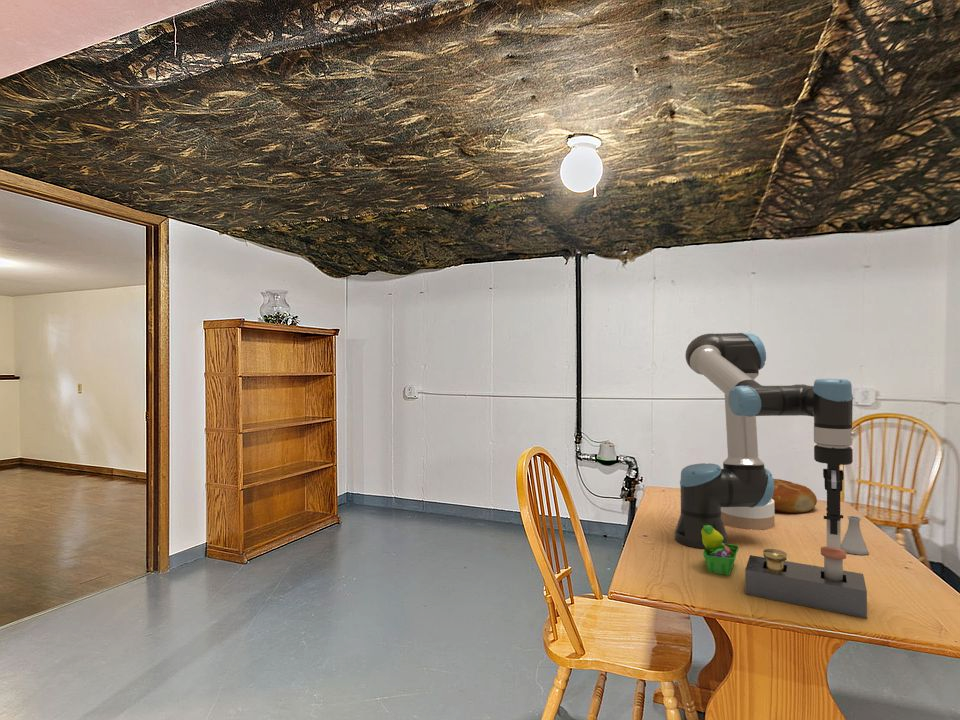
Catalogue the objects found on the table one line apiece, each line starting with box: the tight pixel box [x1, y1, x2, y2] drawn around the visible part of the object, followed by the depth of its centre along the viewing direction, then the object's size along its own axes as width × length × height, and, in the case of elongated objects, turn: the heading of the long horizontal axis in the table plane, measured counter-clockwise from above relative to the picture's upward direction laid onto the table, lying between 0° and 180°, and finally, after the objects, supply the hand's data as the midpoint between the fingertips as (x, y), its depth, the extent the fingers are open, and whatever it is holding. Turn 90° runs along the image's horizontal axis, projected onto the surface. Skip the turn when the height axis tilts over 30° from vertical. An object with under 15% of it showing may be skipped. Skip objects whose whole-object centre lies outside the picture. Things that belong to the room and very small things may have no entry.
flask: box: [841, 515, 870, 556], centre depth 160 cm, size 7×7×10 cm
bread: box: [772, 478, 818, 514], centre depth 206 cm, size 23×23×10 cm
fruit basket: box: [701, 525, 740, 576], centre depth 149 cm, size 11×9×11 cm
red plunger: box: [820, 545, 847, 582], centre depth 127 cm, size 5×5×8 cm
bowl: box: [721, 498, 776, 531], centre depth 188 cm, size 17×17×8 cm
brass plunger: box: [762, 548, 788, 572], centre depth 134 cm, size 5×5×8 cm
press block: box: [744, 554, 868, 619], centre depth 130 cm, size 24×11×6 cm, turn 58°
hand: (833, 546), depth 127 cm, fingers closed
